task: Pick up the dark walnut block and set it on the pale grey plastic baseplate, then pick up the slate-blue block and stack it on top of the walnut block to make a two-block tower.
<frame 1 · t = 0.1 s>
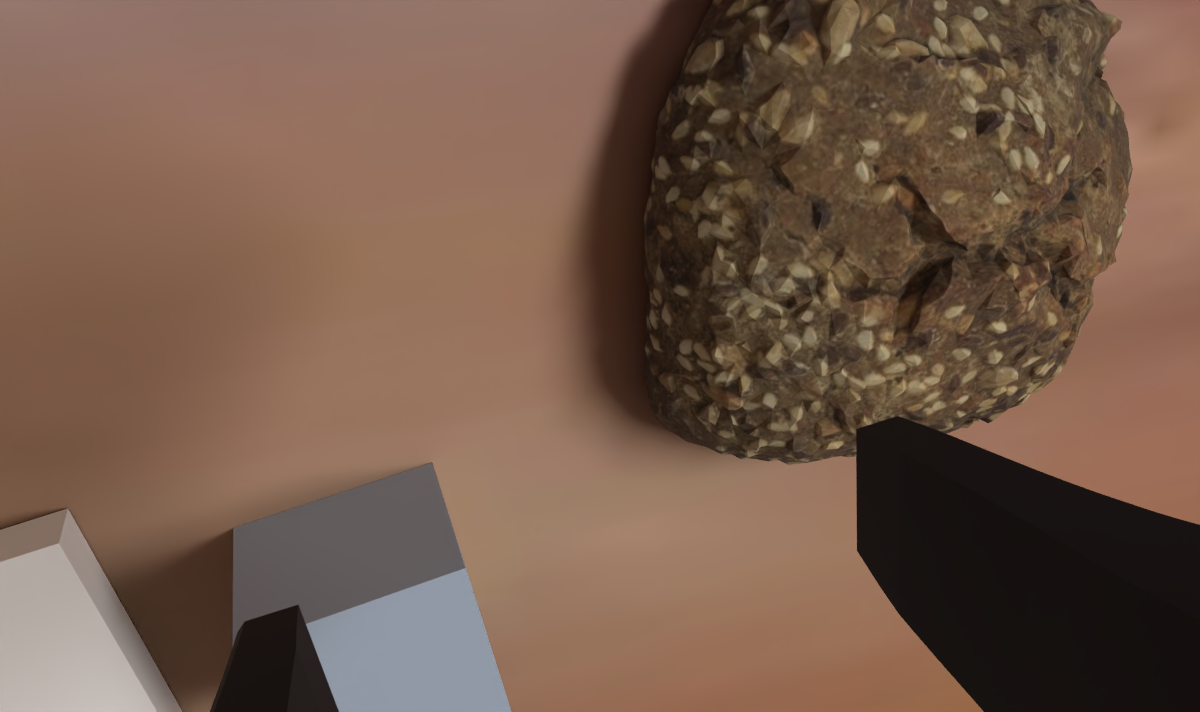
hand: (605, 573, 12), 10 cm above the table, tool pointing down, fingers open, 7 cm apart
slate block: (363, 566, 23), on the table
bread roll: (872, 203, 24), on the table
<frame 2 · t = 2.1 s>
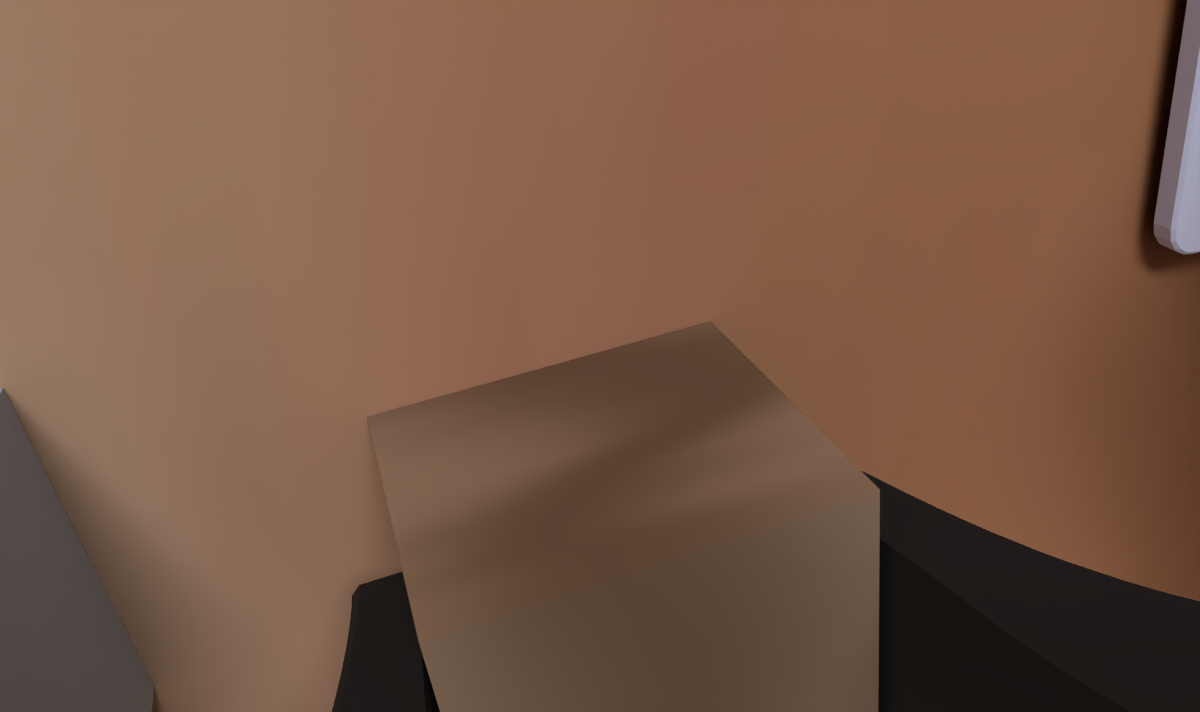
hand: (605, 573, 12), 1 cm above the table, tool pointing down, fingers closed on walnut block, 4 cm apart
walnut block: (571, 509, 13), on the table, touching gripper
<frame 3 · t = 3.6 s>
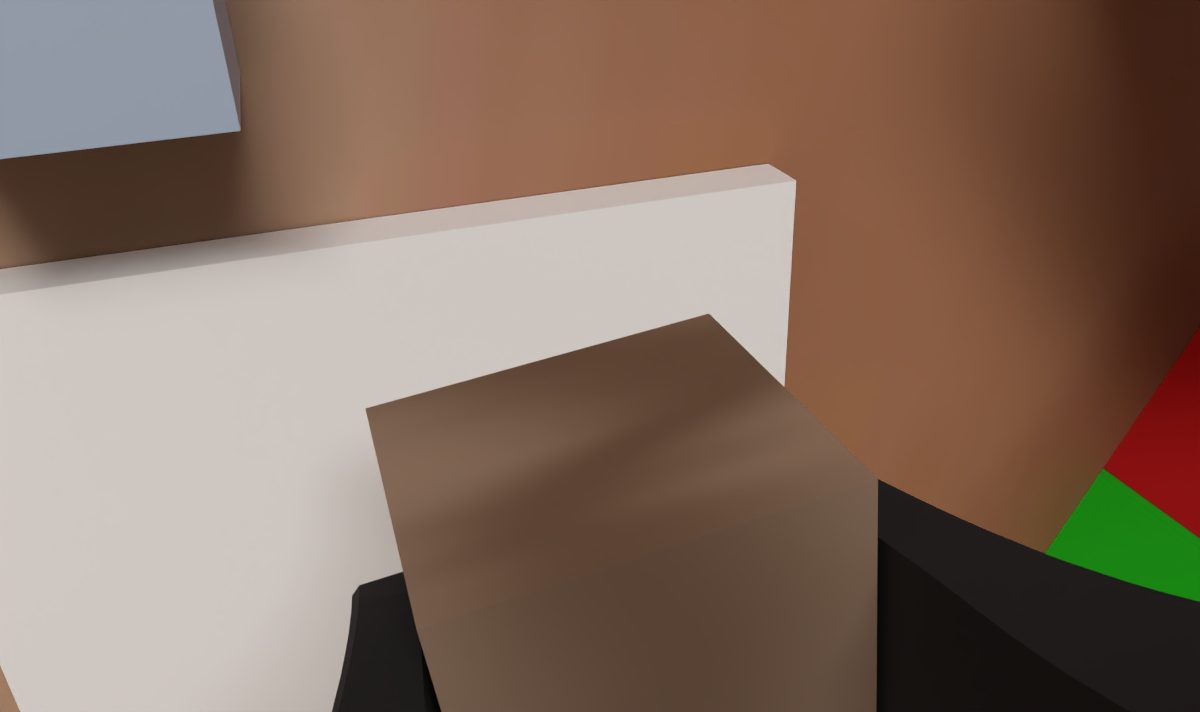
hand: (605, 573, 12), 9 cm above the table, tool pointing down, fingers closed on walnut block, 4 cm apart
baseplate: (414, 506, 21), on the table
walnut block: (570, 501, 13), point 7 cm above the table, touching gripper
when the fingers open (4 cm above the table, at t = 5.3 s): walnut block stays where it is, resting on baseplate.
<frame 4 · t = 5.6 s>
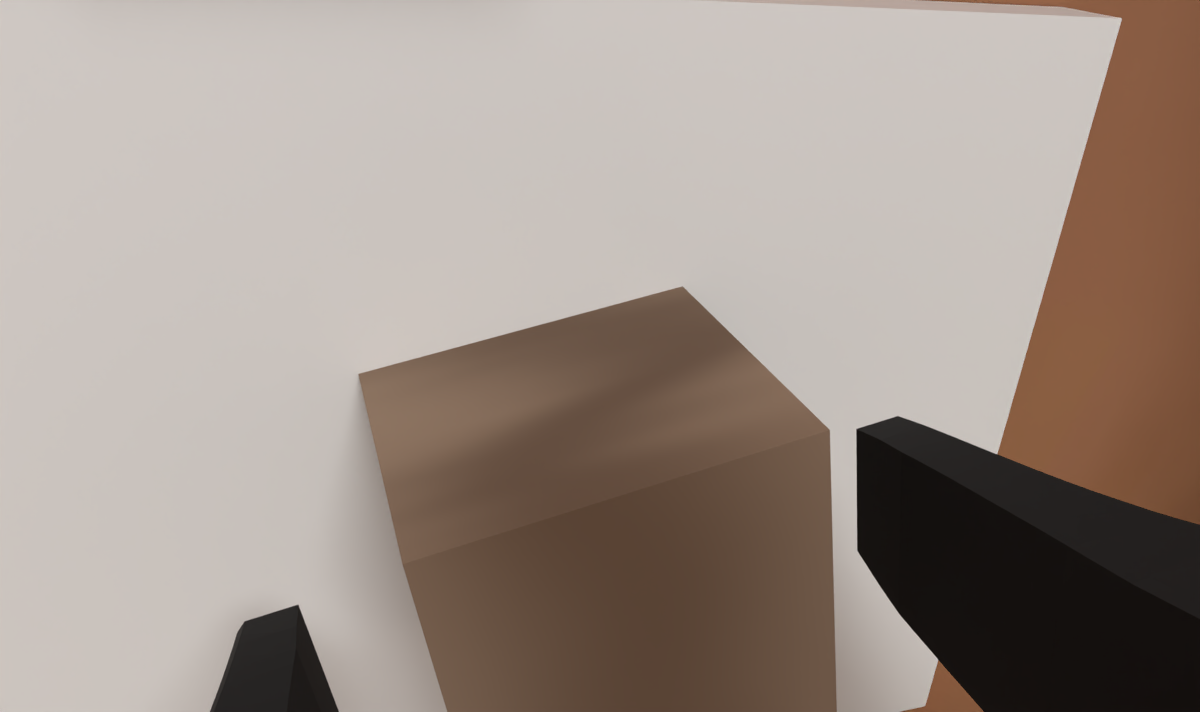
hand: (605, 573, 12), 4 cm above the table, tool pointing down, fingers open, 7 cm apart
baseplate: (531, 429, 15), on the table
walnut block: (552, 465, 14), point 1 cm above the table, touching baseplate
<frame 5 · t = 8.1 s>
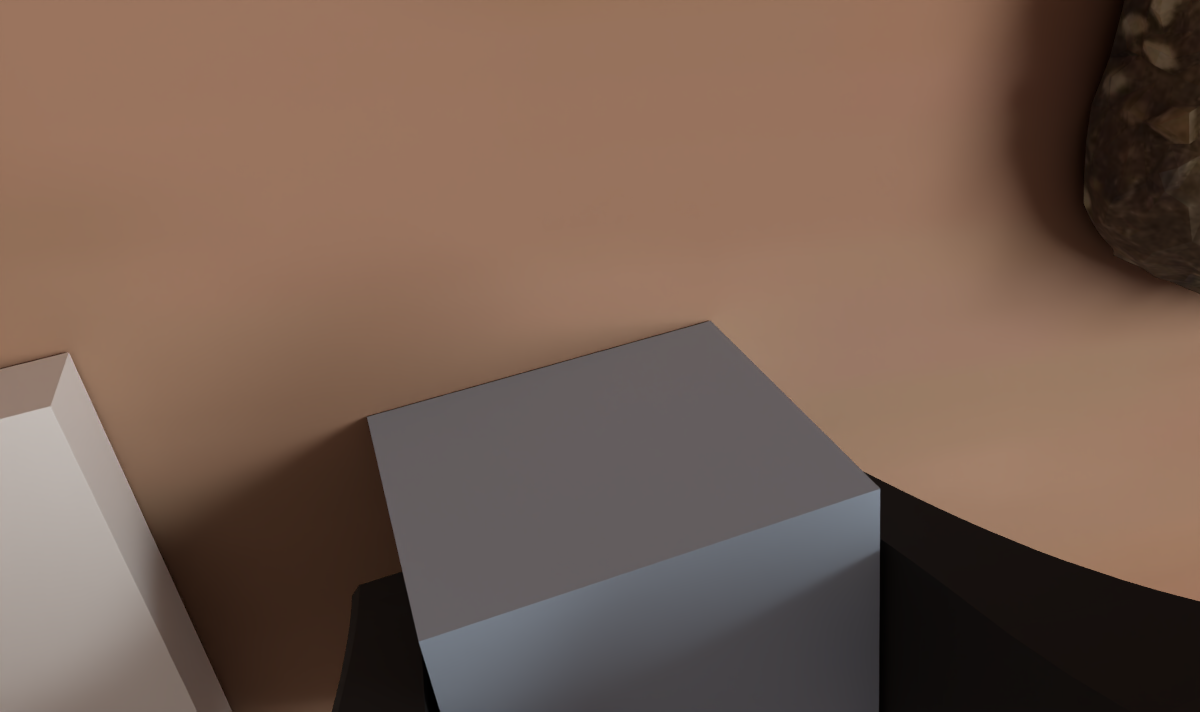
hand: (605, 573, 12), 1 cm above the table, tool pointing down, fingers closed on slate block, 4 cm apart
slate block: (571, 508, 13), on the table, touching gripper
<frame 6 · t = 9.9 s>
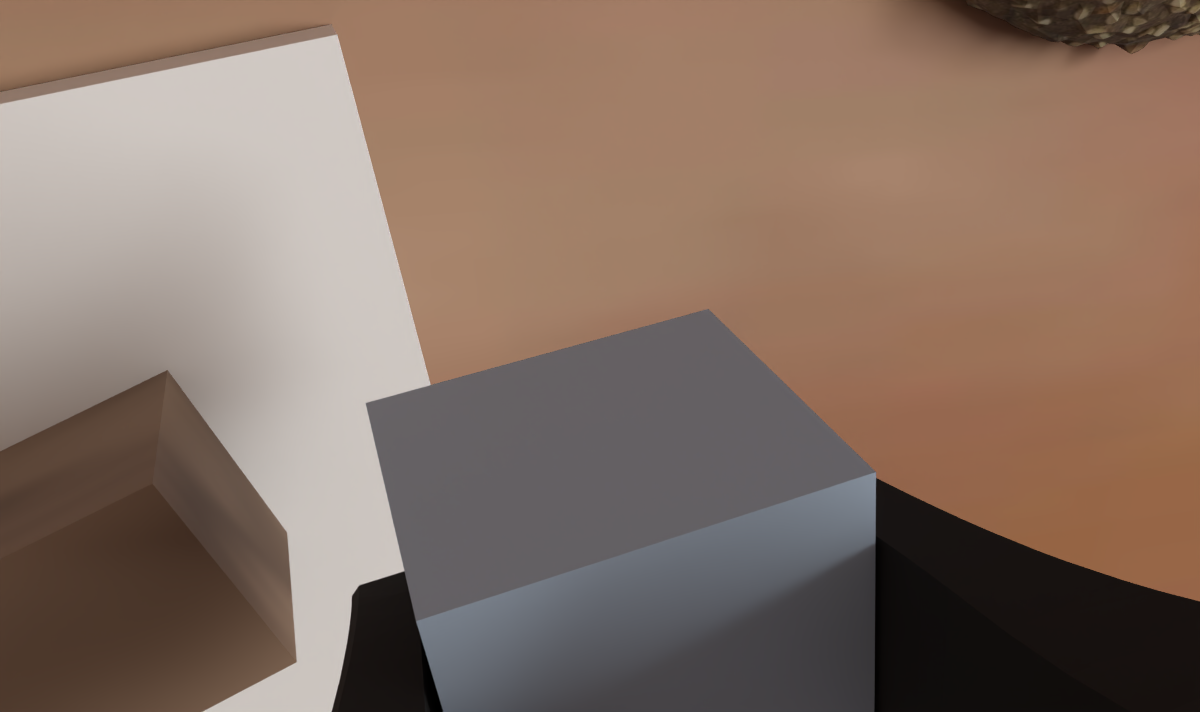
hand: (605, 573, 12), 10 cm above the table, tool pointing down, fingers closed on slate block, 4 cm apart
slate block: (569, 496, 14), point 9 cm above the table, touching gripper
baseplate: (127, 477, 21), on the table
walnut block: (127, 507, 20), point 1 cm above the table, touching baseplate
when the fingers open (8 cm above the table, at t = 11.6 s): slate block stays where it is, resting on walnut block.
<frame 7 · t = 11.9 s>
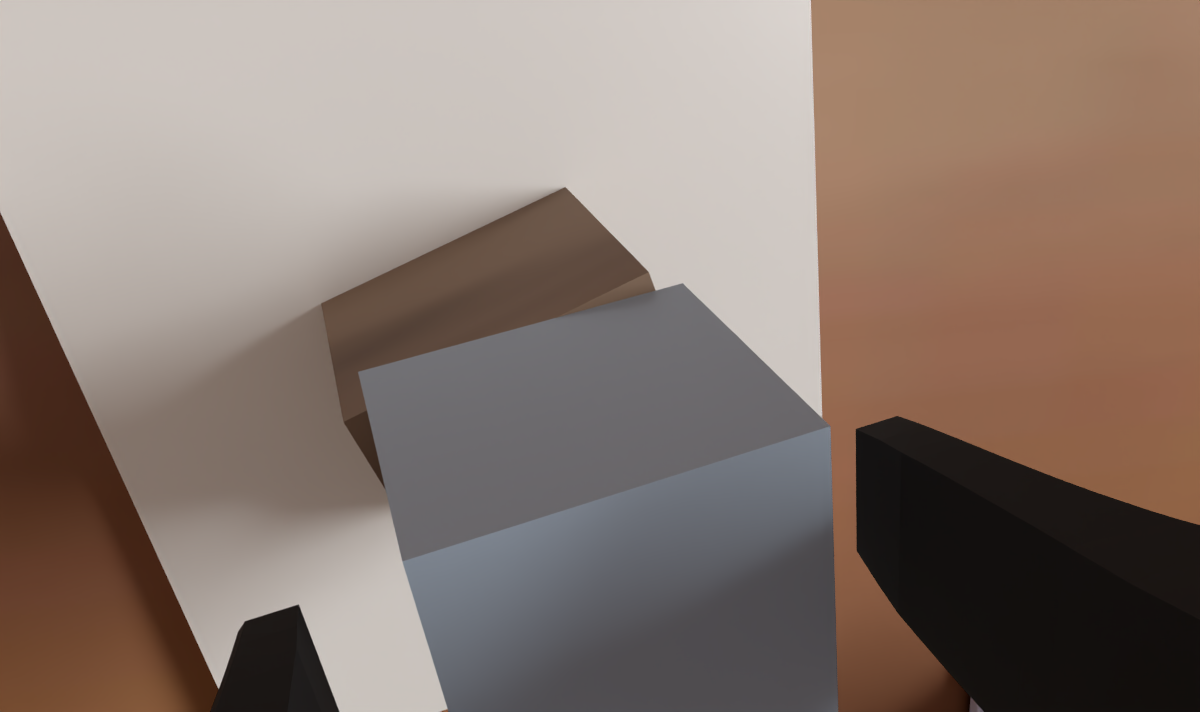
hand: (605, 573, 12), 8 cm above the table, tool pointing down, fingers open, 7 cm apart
slate block: (553, 463, 14), point 5 cm above the table, touching walnut block
baseplate: (478, 325, 19), on the table
walnut block: (497, 350, 18), point 1 cm above the table, touching baseplate, slate block
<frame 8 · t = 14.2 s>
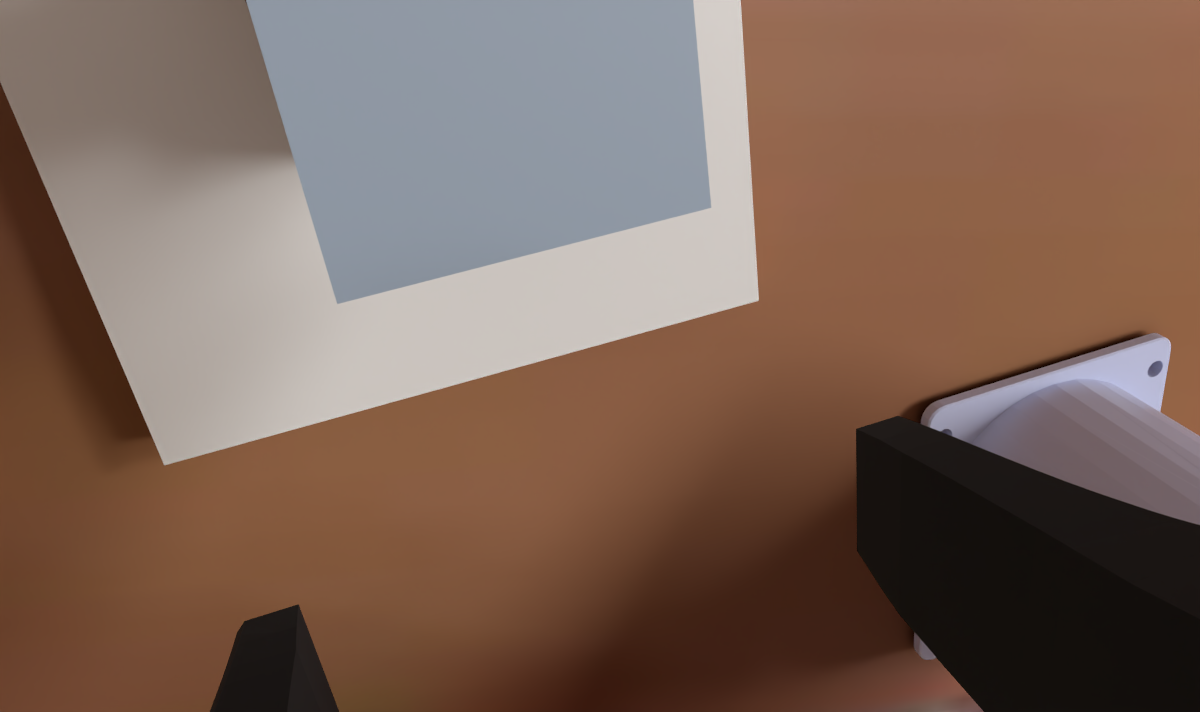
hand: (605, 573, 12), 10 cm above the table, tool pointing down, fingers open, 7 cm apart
slate block: (431, 5, 14), point 5 cm above the table, touching walnut block
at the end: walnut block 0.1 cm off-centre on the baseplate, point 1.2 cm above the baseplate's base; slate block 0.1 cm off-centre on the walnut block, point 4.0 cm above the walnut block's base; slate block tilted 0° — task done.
